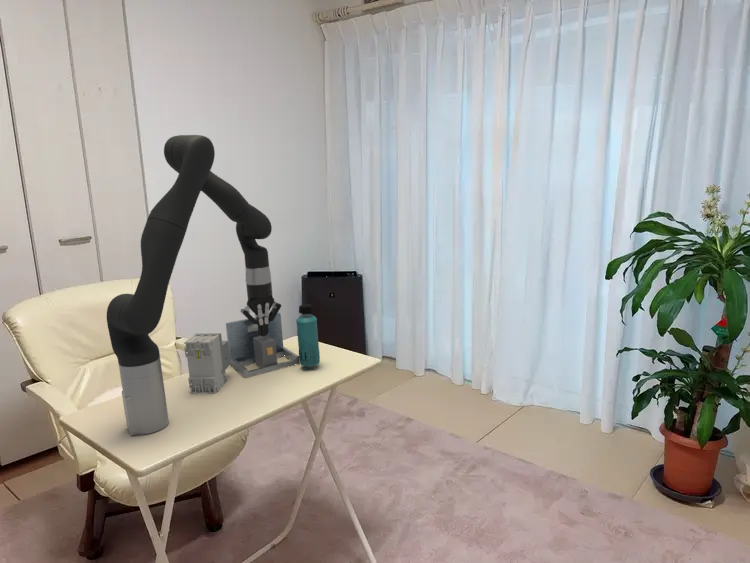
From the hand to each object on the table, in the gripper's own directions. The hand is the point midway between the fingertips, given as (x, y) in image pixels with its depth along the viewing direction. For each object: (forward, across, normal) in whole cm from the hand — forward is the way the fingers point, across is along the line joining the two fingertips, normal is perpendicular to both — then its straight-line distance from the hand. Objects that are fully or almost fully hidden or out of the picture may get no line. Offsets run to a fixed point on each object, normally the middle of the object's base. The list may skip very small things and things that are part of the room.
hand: (263, 335), depth 169 cm
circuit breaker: (+10, -18, -3) cm, 21 cm away
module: (+10, 0, 0) cm, 10 cm away
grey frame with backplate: (+10, 0, +1) cm, 10 cm away
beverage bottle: (+10, +10, -10) cm, 18 cm away
